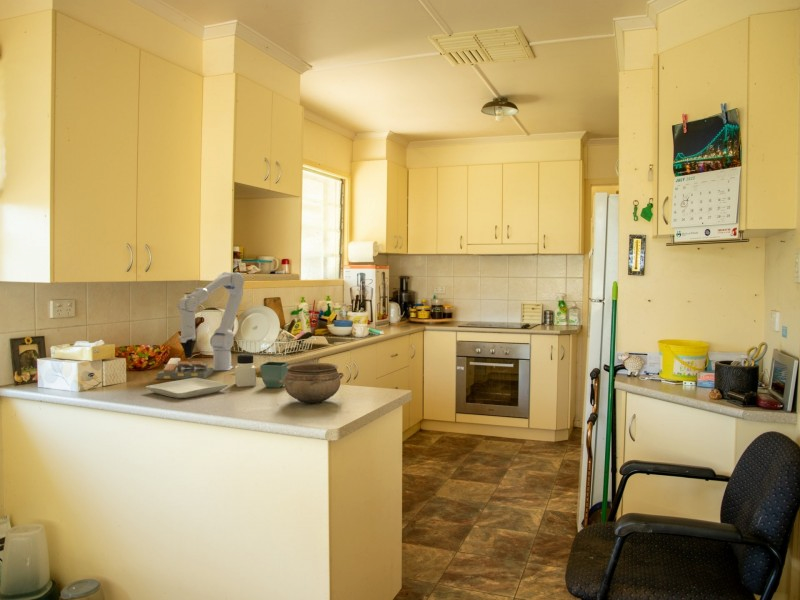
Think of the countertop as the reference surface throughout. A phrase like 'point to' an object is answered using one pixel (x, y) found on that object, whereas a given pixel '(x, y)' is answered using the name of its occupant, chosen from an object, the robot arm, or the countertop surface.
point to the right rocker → (198, 364)
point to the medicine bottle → (245, 371)
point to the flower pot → (274, 373)
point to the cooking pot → (312, 382)
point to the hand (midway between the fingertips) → (188, 357)
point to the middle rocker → (184, 364)
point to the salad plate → (187, 387)
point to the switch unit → (186, 373)
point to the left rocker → (172, 365)
